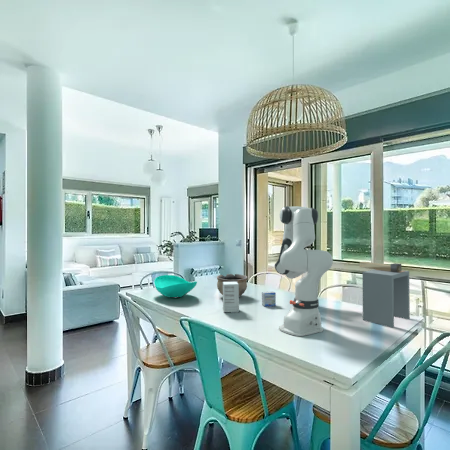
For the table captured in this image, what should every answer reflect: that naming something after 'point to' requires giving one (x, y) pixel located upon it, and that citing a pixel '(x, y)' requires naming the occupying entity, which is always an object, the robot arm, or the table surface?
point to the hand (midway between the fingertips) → (321, 255)
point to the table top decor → (173, 285)
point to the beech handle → (381, 266)
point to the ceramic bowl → (231, 278)
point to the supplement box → (230, 297)
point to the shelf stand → (385, 296)
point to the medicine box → (268, 299)
